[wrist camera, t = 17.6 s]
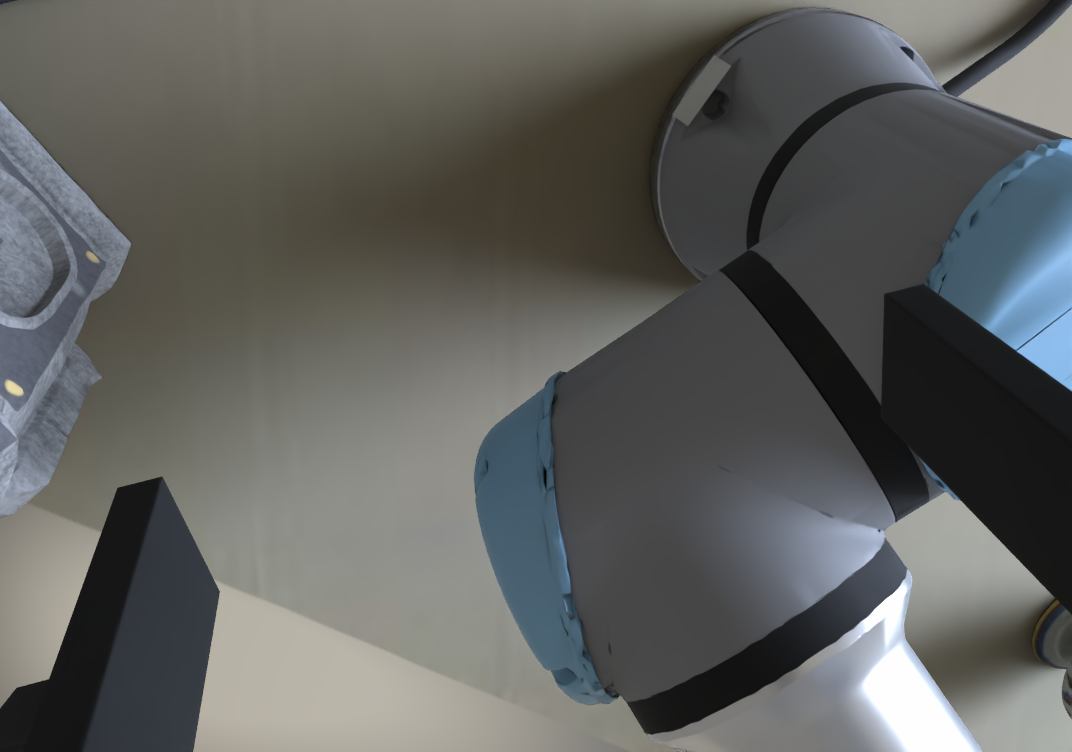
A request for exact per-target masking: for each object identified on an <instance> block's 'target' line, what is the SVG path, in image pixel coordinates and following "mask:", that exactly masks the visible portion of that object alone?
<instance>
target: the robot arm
mask: <svg viewBox="0 0 1072 752" xmlns="http://www.w3.org/2000/svg"><path fill="white" fill-rule="evenodd" d="M1071 4H1072V0H1050V1H1049V2H1048V3H1047V5H1046V6H1045V7H1044V8H1043V9H1042V10H1041V11H1040V12H1039V13H1038V14H1037V15H1036V16H1034V17H1033V18H1032V19H1031V20H1030V21H1029V22H1028V23H1027V24H1026V25H1025V26H1024V27H1022V28H1021V29H1020V30H1019V31H1018V32H1016V33H1015V34H1014V35H1013V36H1012V37H1010V38H1009V39H1008V40H1006V41H1005V42H1004V43H1002V44H1001V45H1000V46H998V47H997V48H995V49H994V50H993V51H991V52H990V53H988V54H987V55H985V56H984V57H982V58H981V59H979V60H978V61H977V62H975V63H974V64H972V65H971V66H970V67H968V68H967V69H965V70H964V71H962V72H961V73H960V74H958V75H957V76H955V77H954V78H953V79H951V80H950V81H948V82H947V83H945V84H944V85H943V86H941V85H940V83H939V82H937V81H936V80H935V78H934V76H933V74H932V72H931V71H930V69H929V68H928V66H927V65H926V63H925V62H924V60H923V59H922V58H921V56H920V55H919V54H918V53H917V52H916V51H915V50H914V48H913V47H912V46H910V45H909V44H908V43H907V42H906V41H905V40H904V39H902V38H901V37H899V36H898V35H897V34H896V33H894V32H893V31H892V30H890V29H888V28H887V27H885V26H883V25H882V24H880V23H878V22H875V21H873V20H871V19H868V18H865V17H862V16H859V15H855V14H852V13H848V12H845V11H842V10H836V9H830V8H799V9H793V10H788V11H783V12H780V13H776V14H772V15H769V16H767V17H764V18H762V19H759V20H757V21H754V22H753V23H751V24H749V25H747V26H745V27H743V28H741V29H739V30H738V31H736V32H735V33H733V34H731V35H730V36H728V37H727V38H726V39H724V40H723V41H722V42H721V43H719V44H718V45H717V46H715V47H714V48H713V49H712V50H711V51H710V52H709V53H708V54H707V55H706V56H704V57H703V58H702V60H701V61H700V62H699V63H698V64H697V65H696V66H695V67H694V68H693V69H692V71H691V72H690V73H689V75H688V76H687V77H686V79H685V80H684V81H683V82H682V84H681V86H680V87H679V89H678V90H677V92H676V93H675V95H674V97H673V99H672V101H671V102H670V104H669V106H668V108H667V110H666V113H665V115H664V117H663V120H662V122H661V125H660V128H659V131H658V134H657V137H656V141H655V145H654V150H653V155H652V163H651V181H650V182H651V196H652V202H653V208H654V212H655V215H656V219H657V222H658V225H659V227H660V230H661V232H662V234H663V236H664V238H665V240H666V242H667V244H668V245H669V246H670V248H671V249H672V251H673V252H674V254H675V255H676V256H677V257H678V258H679V260H680V261H681V262H682V263H683V264H684V265H685V267H686V268H687V269H688V270H689V271H690V272H691V273H692V274H693V275H694V276H695V277H696V278H697V279H698V280H700V281H701V282H699V283H698V284H696V285H695V286H694V287H692V288H691V289H689V290H688V291H686V292H685V293H683V294H682V295H681V296H679V297H678V298H676V299H675V300H673V301H672V302H671V303H669V304H668V305H666V306H665V307H663V308H662V309H661V310H659V311H658V312H656V313H655V314H653V315H652V316H651V317H649V318H648V319H646V320H645V321H643V322H642V323H640V324H639V325H637V326H636V327H634V328H633V329H631V330H630V331H628V332H627V333H625V334H624V335H622V336H621V337H619V338H618V339H616V340H615V341H613V342H612V343H610V344H609V345H607V346H606V347H604V348H603V349H601V350H600V351H598V352H597V353H595V354H594V355H592V356H591V357H589V358H588V359H586V360H585V361H583V362H582V363H580V364H579V365H577V366H576V367H574V368H573V369H571V370H570V371H568V372H567V373H566V372H562V371H559V372H558V373H556V374H554V375H553V376H551V377H550V378H549V379H548V381H547V382H546V384H545V387H544V388H543V389H542V390H541V391H539V392H538V393H537V394H535V395H534V396H533V397H531V398H530V399H529V400H527V401H526V402H525V403H523V404H522V405H521V406H519V407H518V408H517V409H516V410H514V411H513V412H512V413H510V414H509V415H508V416H506V417H505V418H504V419H502V420H501V421H500V422H499V423H497V424H496V425H495V426H494V427H493V428H492V429H491V430H490V431H489V433H488V434H487V435H486V437H485V438H484V440H483V442H482V444H481V446H480V449H479V452H478V455H477V458H476V465H475V472H474V483H475V493H476V499H475V500H476V507H477V513H478V518H479V523H480V527H481V531H482V535H483V539H484V542H485V546H486V549H487V552H488V555H489V558H490V561H491V564H492V567H493V570H494V572H495V575H496V578H497V580H498V583H499V585H500V588H501V590H502V592H503V595H504V597H505V600H506V602H507V604H508V606H509V608H510V610H511V612H512V614H513V617H514V619H515V621H516V623H517V624H518V626H519V628H520V630H521V632H522V634H523V636H524V638H525V640H526V641H527V643H528V645H529V646H530V648H531V650H532V652H533V653H534V655H535V656H536V658H537V659H538V661H539V662H540V663H541V665H542V666H543V667H544V668H545V669H547V670H551V672H552V674H553V676H554V678H555V681H556V683H557V685H558V686H559V688H560V689H561V690H562V691H563V692H564V693H565V694H567V695H568V696H569V697H570V698H572V699H573V700H575V701H577V702H579V703H582V704H586V705H594V704H598V703H603V704H610V703H611V702H613V701H614V700H616V699H617V698H618V697H619V696H620V695H621V696H622V697H623V699H624V700H625V701H626V702H627V704H628V706H629V707H630V709H631V710H632V712H633V714H634V715H635V717H636V719H637V720H638V722H639V724H640V725H641V727H642V729H643V731H644V732H645V733H646V735H647V736H648V738H649V739H650V740H651V741H653V742H656V743H659V744H663V745H667V746H671V747H674V748H678V749H682V750H685V751H689V752H983V751H982V749H981V748H980V746H979V745H978V744H977V742H976V741H975V739H974V738H973V736H972V735H971V733H970V732H969V731H968V729H967V728H966V726H965V725H964V723H963V722H962V720H961V719H960V718H959V716H958V715H957V713H956V712H955V710H954V709H953V707H952V706H951V705H950V703H949V702H948V700H947V699H946V697H945V696H944V694H943V693H942V692H941V690H940V689H939V687H938V686H937V684H936V683H935V681H934V680H933V678H932V677H931V676H930V674H929V673H928V671H927V670H926V668H925V667H924V665H923V664H922V663H921V661H920V660H919V658H918V657H917V655H916V654H915V652H914V651H913V650H912V648H911V647H910V645H909V644H908V642H907V641H906V639H905V631H904V621H905V616H906V611H907V606H908V600H909V595H910V590H911V585H912V576H911V574H910V572H909V571H908V569H907V568H906V566H905V565H904V564H903V562H902V561H901V560H900V558H899V557H898V555H897V554H896V552H895V551H894V550H893V548H892V547H891V545H890V544H889V542H888V541H887V540H886V538H885V536H884V533H883V532H884V530H885V529H886V528H888V527H889V526H891V525H892V524H893V523H895V522H897V521H898V520H900V519H901V518H903V517H905V516H906V515H908V514H909V513H911V512H913V511H914V510H916V509H918V508H919V507H921V506H923V505H924V504H926V503H928V502H929V501H931V500H933V499H934V498H936V497H938V496H939V495H941V494H942V493H944V492H948V493H949V494H950V496H951V497H952V498H953V499H955V500H960V501H962V502H963V503H964V504H965V505H966V506H967V507H968V508H969V509H970V510H971V511H972V512H973V513H974V515H975V516H976V517H977V518H978V519H979V520H980V521H981V522H982V523H983V524H984V525H985V526H986V527H987V528H988V529H989V530H990V531H991V532H992V533H993V534H994V535H995V536H996V537H997V538H998V539H999V540H1000V541H1001V542H1002V543H1003V544H1004V545H1005V547H1006V548H1007V549H1008V550H1009V551H1010V552H1011V553H1012V554H1013V555H1014V556H1015V557H1016V558H1017V559H1018V560H1019V561H1020V562H1021V563H1022V564H1023V565H1024V566H1025V567H1026V568H1027V569H1028V570H1029V571H1030V572H1031V573H1032V574H1033V575H1034V576H1035V578H1036V579H1037V580H1038V581H1039V582H1040V583H1041V584H1042V585H1043V586H1044V587H1045V588H1046V589H1047V590H1048V591H1049V592H1050V593H1051V594H1052V595H1053V596H1054V597H1055V598H1056V599H1057V600H1058V601H1059V602H1060V603H1061V604H1062V605H1063V606H1064V607H1065V608H1066V610H1067V611H1068V612H1069V613H1070V614H1071V615H1072V138H1069V137H1066V136H1063V135H1061V134H1058V133H1055V132H1052V131H1050V130H1047V129H1044V128H1041V127H1038V126H1036V125H1033V124H1030V123H1027V122H1024V121H1022V120H1019V119H1016V118H1013V117H1011V116H1008V115H1005V114H1002V113H999V112H997V111H994V110H991V109H988V108H986V107H983V106H980V105H977V104H974V103H972V102H969V101H966V100H963V99H961V98H958V97H957V96H959V95H960V94H962V93H963V92H965V91H966V90H967V89H969V88H970V87H972V86H973V85H974V84H976V83H977V82H979V81H980V80H981V79H983V78H984V77H986V76H987V75H989V74H990V73H991V72H993V71H994V70H996V69H997V68H999V67H1000V66H1001V65H1003V64H1004V63H1006V62H1007V61H1008V60H1010V59H1011V58H1013V57H1014V56H1015V55H1017V54H1018V53H1019V52H1020V51H1022V50H1023V49H1024V48H1026V47H1027V46H1028V45H1029V44H1030V43H1032V42H1033V41H1034V40H1035V39H1036V38H1038V37H1039V36H1040V35H1041V34H1042V33H1043V32H1044V31H1045V30H1046V29H1047V28H1048V27H1050V26H1051V25H1052V24H1053V23H1054V22H1055V21H1056V20H1057V19H1058V18H1059V17H1060V16H1061V15H1062V14H1063V13H1064V12H1065V11H1066V9H1067V8H1068V7H1069V6H1070V5H1071ZM219 593H220V591H219V589H218V587H217V585H216V583H215V581H214V579H213V577H212V575H211V573H210V571H209V569H208V567H207V565H206V563H205V561H204V559H203V557H202V555H201V553H200V551H199V549H198V547H197V545H196V543H195V541H194V539H193V537H192V535H191V533H190V531H189V529H188V527H187V525H186V523H185V521H184V519H183V517H182V515H181V513H180V511H179V509H178V507H177V505H176V503H175V501H174V499H173V497H172V495H171V493H170V491H169V489H168V487H167V485H166V483H165V481H164V479H163V477H159V478H155V479H151V480H147V481H143V482H139V483H135V484H131V485H127V486H123V487H119V488H117V491H116V494H115V497H114V499H113V502H112V505H111V508H110V511H109V513H108V516H107V519H106V522H105V524H104V527H103V530H102V533H101V536H100V539H99V541H98V544H97V547H96V550H95V552H94V555H93V558H92V561H91V564H90V566H89V569H88V572H87V575H86V578H85V581H84V583H83V586H82V589H81V592H80V595H79V597H78V600H77V603H76V605H75V608H74V611H73V614H72V617H71V619H70V622H69V625H68V628H67V631H66V633H65V636H64V639H63V642H62V645H61V647H60V650H59V653H58V656H57V659H56V662H55V664H54V667H53V670H52V673H51V676H50V678H49V680H45V681H41V682H37V683H34V684H30V685H26V686H22V687H18V688H16V689H15V691H14V692H13V693H12V694H11V696H10V697H9V698H8V699H7V701H6V702H5V703H4V704H3V706H2V707H1V708H0V752H193V749H194V743H195V737H196V731H197V725H198V719H199V713H200V707H201V701H202V695H203V689H204V683H205V677H206V671H207V665H208V659H209V653H210V646H211V641H212V635H213V629H214V623H215V617H216V611H217V605H218V599H219Z"/></svg>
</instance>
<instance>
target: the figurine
mask: <svg viewBox="0 0 1072 752" xmlns="http://www.w3.org/2000/svg"><path fill="white" fill-rule="evenodd" d="M130 246H131V243H130V242H129V241H128V239H127V238H126V237H125V236H124V235H123V234H122V233H121V232H120V231H119V230H118V229H117V227H116V226H115V225H114V224H113V223H112V222H111V221H110V220H109V219H108V218H107V217H106V216H105V215H104V214H103V213H102V212H101V211H100V210H99V209H98V208H97V206H96V205H95V204H94V203H93V201H92V200H91V199H90V198H89V196H88V195H87V194H86V193H85V192H84V191H83V190H82V189H81V188H80V187H79V186H78V185H77V184H76V183H75V182H74V181H73V180H72V179H71V178H70V177H69V176H68V175H67V174H66V173H65V172H64V171H63V169H62V168H61V167H60V166H59V165H58V164H57V163H56V162H55V160H54V159H53V158H52V157H51V156H50V155H49V154H48V152H47V151H46V150H45V149H44V148H43V147H42V146H41V144H40V143H39V142H38V141H37V140H36V139H35V138H34V137H33V135H32V134H31V133H30V132H29V131H28V130H27V129H26V128H25V127H24V126H23V125H22V124H21V123H20V122H19V121H18V120H17V119H16V118H15V117H14V116H13V115H12V114H11V113H10V111H9V110H8V109H7V108H6V107H5V106H4V105H3V104H2V102H1V101H0V518H1V517H6V516H10V515H12V514H14V513H15V512H16V511H17V510H18V509H20V508H21V507H22V506H23V505H25V504H26V503H27V502H28V501H29V500H31V499H32V498H33V497H34V496H35V495H37V494H38V493H39V492H40V491H41V490H42V489H43V488H45V487H46V486H47V485H48V484H49V482H50V479H51V477H52V475H53V473H54V471H55V468H56V466H57V464H58V462H59V460H60V457H61V455H62V452H63V450H64V447H65V445H66V442H67V438H66V437H65V436H67V435H69V433H70V432H71V430H72V428H73V426H74V424H75V422H76V420H77V417H78V414H79V411H80V408H81V405H82V402H83V399H84V397H85V395H86V393H87V391H88V388H89V387H90V386H91V385H92V384H94V383H95V382H97V381H98V380H100V379H101V378H102V376H101V375H100V374H99V373H98V371H97V370H96V369H95V367H94V366H93V364H92V362H91V360H90V358H89V357H88V356H87V354H86V353H85V352H84V351H83V350H82V349H81V348H80V347H79V346H78V345H77V344H75V343H74V342H75V340H76V338H77V336H78V334H79V332H80V330H81V327H82V325H83V323H84V321H85V318H86V315H87V312H88V308H89V303H91V302H92V301H94V300H95V299H97V298H98V297H100V296H101V295H102V294H104V293H105V292H106V291H108V290H109V289H111V287H112V286H113V284H114V282H115V281H116V279H117V278H118V276H119V274H120V272H121V269H122V267H123V264H124V262H125V260H126V257H127V254H128V252H129V249H130Z"/></svg>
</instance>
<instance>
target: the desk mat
mask: <svg viewBox="0 0 1072 752" xmlns="http://www.w3.org/2000/svg"><path fill="white" fill-rule="evenodd" d="M11 1H16V0H0V4H2V3H6V2H11Z"/></svg>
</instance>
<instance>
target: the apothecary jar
mask: <svg viewBox="0 0 1072 752" xmlns="http://www.w3.org/2000/svg"><path fill="white" fill-rule="evenodd" d="M1032 645H1033V650H1034V653H1035V655H1036V656H1037V658H1038V659H1039V660H1040V661H1041V662H1043V663H1044V664H1046V665H1048V666H1051V667H1054V668H1059V669H1067V670H1066V672H1065V676H1064V680H1063V685H1062V700H1063V704H1064V706H1065V709H1066V711H1067V713H1068V714H1069V716H1070V717H1071V719H1072V615H1071V614H1070V613H1069V612H1068V611H1067V610H1066V608H1065V607H1064V606H1063V605H1062V604H1061V603H1060V602H1059V601H1058V600H1056V601H1055V602H1054V603H1053V604H1052V605H1051V606H1050V607H1049V608H1048V609H1047V610H1046V611H1045V613H1044V614H1043V615H1042V617H1041V618H1040V620H1039V621H1038V623H1037V625H1036V628H1035V631H1034V634H1033V639H1032Z"/></svg>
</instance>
